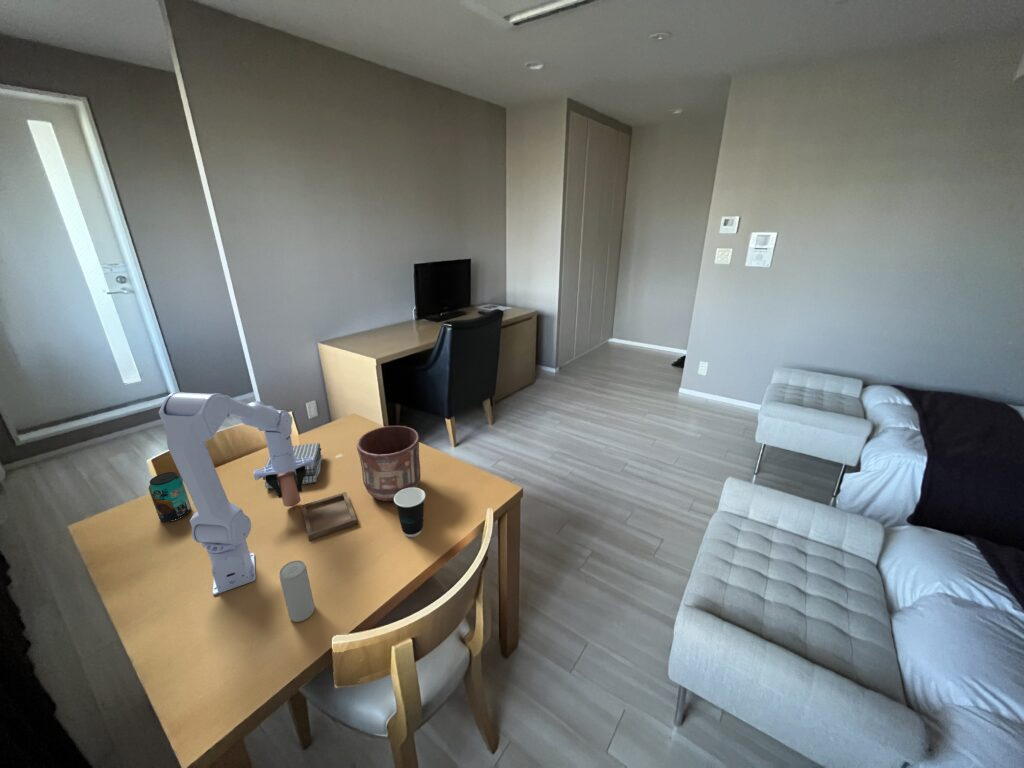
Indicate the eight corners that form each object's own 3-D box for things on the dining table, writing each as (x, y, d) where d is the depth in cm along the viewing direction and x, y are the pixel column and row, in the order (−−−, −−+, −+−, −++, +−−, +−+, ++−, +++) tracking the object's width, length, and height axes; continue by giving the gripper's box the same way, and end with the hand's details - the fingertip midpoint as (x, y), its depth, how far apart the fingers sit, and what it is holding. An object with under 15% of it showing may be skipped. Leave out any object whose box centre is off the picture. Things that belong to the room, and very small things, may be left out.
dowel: (301, 503, 115) (295, 476, 112) (284, 508, 113) (277, 481, 110) (299, 495, 119) (294, 468, 115) (282, 500, 116) (276, 473, 113)
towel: (264, 493, 123) (259, 471, 120) (275, 462, 139) (271, 442, 136) (319, 484, 127) (315, 463, 125) (323, 455, 144) (320, 435, 141)
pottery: (355, 486, 126) (348, 435, 120) (408, 467, 136) (404, 419, 130) (375, 517, 113) (368, 462, 107) (432, 494, 123) (429, 443, 116)
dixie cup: (422, 517, 113) (420, 484, 109) (431, 534, 107) (429, 500, 103) (394, 526, 110) (390, 492, 106) (402, 545, 103) (398, 510, 99)
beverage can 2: (284, 615, 84) (273, 571, 80) (307, 599, 88) (297, 556, 84) (297, 627, 82) (287, 582, 77) (320, 610, 86) (310, 566, 81)
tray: (357, 524, 110) (356, 519, 110) (309, 540, 104) (308, 535, 104) (346, 497, 121) (345, 491, 121) (302, 510, 115) (301, 505, 115)
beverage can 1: (154, 517, 111) (140, 480, 107) (183, 503, 117) (171, 468, 113) (168, 526, 108) (154, 488, 104) (196, 511, 114) (185, 475, 110)
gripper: (308, 438, 117) (315, 478, 122) (249, 451, 109) (259, 493, 114) (312, 449, 111) (319, 490, 116) (250, 463, 104) (261, 507, 109)
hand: (290, 493), depth 115 cm, fingers closed on dowel, 4 cm apart
